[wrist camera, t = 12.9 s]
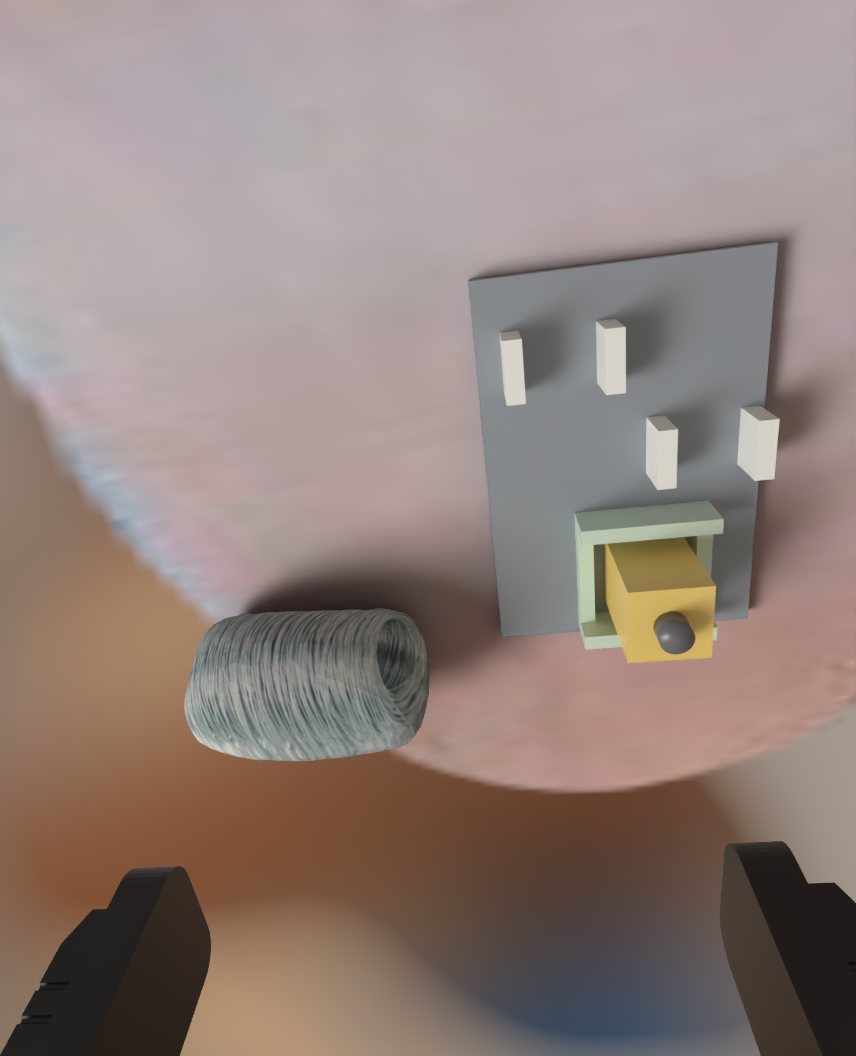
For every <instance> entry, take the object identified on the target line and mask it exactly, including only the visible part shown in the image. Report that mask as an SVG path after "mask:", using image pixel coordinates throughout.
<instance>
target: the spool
mask: <svg viewBox="0 0 856 1056" xmlns="http://www.w3.org/2000/svg"><path fill="white" fill-rule="evenodd" d="M428 694H429V664H428V655H427V650H426V645H425V641H424V639H423V637H422V635H421V633H420V631H419V629H418V627H417V625H416V624H415V622H414V621H413V620H412V618H411V617H410V616H408V615H407V614H406V613H403V612H398V611H395V610H390V609H384V608H376V609H373V610H359V609H349V610H320V611H284V612H265V613H259V614H243V615H239V616H234V617H229V618H226V619H223V620H222V621H220V622H218V623H216V624H214V625H213V626H212V627H211V628H210V629H209V630H208V631H207V632H206V633H205V635H204V637H203V639H202V641H201V643H200V645H199V646H198V648H197V652H196V656H195V658H194V661H193V664H192V668H191V672H190V678H189V683H188V688H187V692H186V696H185V707H184V708H185V713H186V718H187V721H188V724H189V726H190V729H191V731H192V732H193V734H194V735H195V737H196V738H197V740H198V741H199V742H201V743H203V744H204V745H206V746H208V747H210V748H212V749H214V750H216V751H219V752H222V753H225V754H229V755H233V756H238V757H243V758H248V759H254V760H280V761H311V760H319V759H326V758H340V757H346V756H354V755H360V754H367V753H372V752H379V751H383V750H386V749H396V748H399V747H401V746H403V745H405V744H407V743H408V742H410V741H411V740H412V738H413V737H414V736H415V735H416V733H417V731H418V730H419V728H420V727H421V724H422V721H423V718H424V714H425V710H426V705H427V701H428Z"/></svg>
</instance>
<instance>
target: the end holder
mask: <svg viewBox="0 0 856 1056" xmlns="http://www.w3.org/2000/svg"><path fill="white" fill-rule="evenodd" d="M723 526H724V519H723V517H722V516H721V515H720V514H719V513H718V511H717V510H716V509H715V508H714V507H713V505H712V504H711V503H710V502H709V500H708V501H697V502H686V503H676V504H665V505H654V506H643V507H632V508H621V509H610V510H599V511H589V512H578V513H575V538H576V564H577V590H578V616H579V628H580V632H581V635H582V639H583V643H584V646H585V650H586V649H600V648H614V647H622V646H621V643H620V640H619V637H618V634H617V632H616V629H615V626H614V623H613V620H612V617H611V615H610V612H596V613H595V587H594V549H593V545H598V544H609V543H621V542H632V541H644V540H655V539H667V538H678V537H690V536H692V538H691V549H692V550H693V552H694V553H695V555H696V556H697V558H698V559H699V561H700V562H701V564H702V565H703V567H704V568H705V570H706V571H707V573H708V574H709V576H710V578H711V567H712V548H713V534H723ZM713 640H717V626H716V624H715V623H714V628H713Z"/></svg>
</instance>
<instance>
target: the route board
mask: <svg viewBox="0 0 856 1056" xmlns="http://www.w3.org/2000/svg"><path fill="white" fill-rule="evenodd" d="M777 251H778V242H765V243H757V244H749V245H741V246H733V247H725V248H717V249H709V250H701V251H693V252H685V253H677V254H669V255H661V256H654V257H646V258H638V259H630V260H622V261H614V262H606V263H598V264H590V265H582V266H574V267H566V268H558V269H550V270H542V271H534V272H526V273H518V274H511V275H503V276H495V277H487V278H479V279H471V280H468V281H469V292H470V303H471V313H472V324H473V334H474V345H475V356H476V366H477V377H478V388H479V398H480V409H481V420H482V430H483V441H484V452H485V462H486V473H487V484H488V494H489V505H490V516H491V526H492V537H493V548H494V558H495V569H496V580H497V590H498V601H499V611H500V622H501V633H502V637H511V636H524V635H537V634H550V633H564V632H577V631H580V628H579V616H578V590H577V564H576V538H575V513H578V512H589V511H599V510H610V509H621V508H632V507H643V506H654V505H665V504H676V503H686V502H697V501H708V500H709V502H710V503H711V504H712V505H713V507H714V508H715V509H716V510H717V511H718V513H719V514H720V515H721V516H722V517H723V519H724V526H723V534H713V548H712V567H711V579H712V581H713V582H714V584H715V585H716V596H715V612H714V621H723V620H736V619H748V607H749V595H750V582H751V570H752V558H753V546H754V533H755V521H756V509H757V497H758V484H759V481H754V480H753V479H752V478H751V477H750V476H749V475H748V474H747V473H746V472H745V471H744V470H743V469H742V468H741V467H740V466H739V465H738V464H737V459H738V444H739V429H740V414H741V407H750V406H759V405H760V406H761V407H763V408H764V409H765V398H766V386H767V374H768V362H769V349H770V337H771V325H772V312H773V300H774V288H775V276H776V263H777ZM609 319H616V320H617V321H619V322H620V323H621V324H623V325H624V326H625V327H626V393H623V394H614V395H606V394H605V393H604V392H603V390H602V389H601V388H600V386H599V385H598V384H597V348H596V321H601V320H609ZM516 330H518V331H519V334H520V336H521V338H522V350H523V366H524V381H525V396H526V404H521V405H512V406H507V405H506V400H505V395H504V385H503V372H502V359H501V347H500V334H499V332H508V331H516ZM663 415H665V416H666V417H667V418H668V419H669V420H670V421H671V422H672V423H673V425H674V426H675V427H676V428H677V429H678V450H677V485H676V488H674V489H664V490H657V488H656V487H655V486H654V484H653V483H652V481H651V480H650V478H649V477H648V475H647V474H646V417H654V416H663ZM684 538H685V540H686V541H687V543H688V544H689V546H690V547H691V538H692V536H690V537H684ZM593 549H594V587H595V613H596V612H609V609H608V606H607V603H606V601H605V545H604V544H598V545H593Z"/></svg>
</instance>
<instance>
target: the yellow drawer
mask: <svg viewBox="0 0 856 1056" xmlns="http://www.w3.org/2000/svg"><path fill="white" fill-rule="evenodd" d="M604 545H605V601H606V603H607V606H608V609H609V612H610V615H611V617H612V620H613V623H614V626H615V629H616V632H617V634H618V637H619V640H620V643H621V646H622V648H623V651H624V654H625V657H626V660H627V663H636V662H651V661H666V660H681V659H696V658H711V657H712V644H713V628H714V612H715V596H716V585H715V584H714V582H713V581H712V579H711V578H710V576H709V574H708V573H707V571H706V570H705V568H704V567H703V565H702V564H701V562H700V561H699V559H698V558H697V556H696V555H695V553H694V552H693V550H692V549H691V547H690V546H689V544H688V543H687V541H686V540H685V538H684V537H678V538H667V539H655V540H644V541H632V542H621V543H609V544H604Z"/></svg>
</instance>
